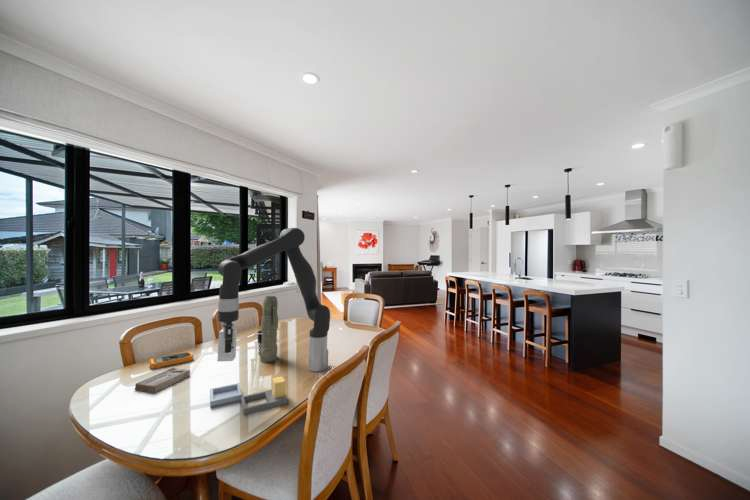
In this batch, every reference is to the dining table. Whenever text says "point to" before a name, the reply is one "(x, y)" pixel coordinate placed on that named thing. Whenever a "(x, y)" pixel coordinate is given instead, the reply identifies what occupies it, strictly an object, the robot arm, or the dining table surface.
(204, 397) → the dining table surface
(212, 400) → the tray
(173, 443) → the dining table surface
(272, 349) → the thermos
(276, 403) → the block
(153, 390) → the box
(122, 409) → the dining table surface
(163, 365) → the multimeter
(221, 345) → the skincare box
